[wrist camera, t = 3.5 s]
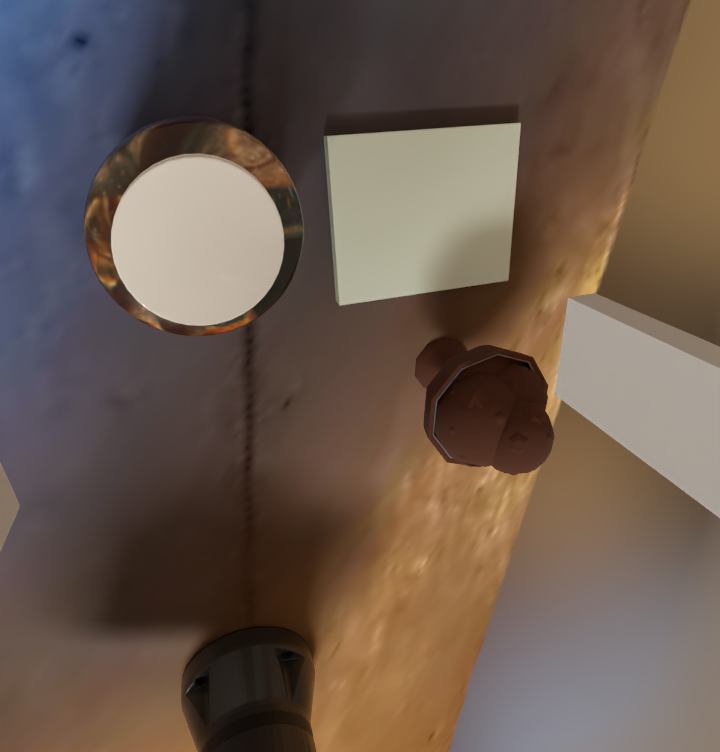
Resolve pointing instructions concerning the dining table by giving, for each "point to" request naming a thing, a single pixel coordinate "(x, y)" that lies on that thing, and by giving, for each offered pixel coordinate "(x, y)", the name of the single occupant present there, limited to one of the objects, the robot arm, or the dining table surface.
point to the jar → (193, 226)
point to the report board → (420, 209)
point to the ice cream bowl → (485, 406)
